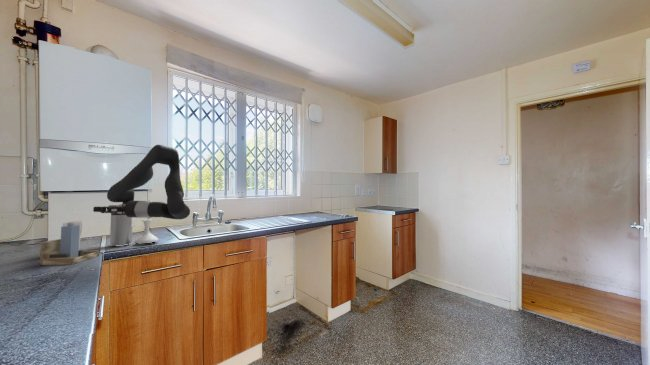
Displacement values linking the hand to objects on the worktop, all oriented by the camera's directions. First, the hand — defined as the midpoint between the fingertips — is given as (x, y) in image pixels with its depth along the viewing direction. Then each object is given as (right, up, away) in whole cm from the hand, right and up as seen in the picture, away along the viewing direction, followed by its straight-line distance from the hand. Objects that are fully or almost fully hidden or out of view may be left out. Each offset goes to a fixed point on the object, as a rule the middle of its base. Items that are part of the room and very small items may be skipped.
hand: (101, 208), depth 112 cm
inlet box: (-11, -22, -2) cm, 25 cm away
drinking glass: (-25, -23, +11) cm, 36 cm away
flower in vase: (-3, -24, +33) cm, 41 cm away
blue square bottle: (-12, -22, -2) cm, 25 cm away
